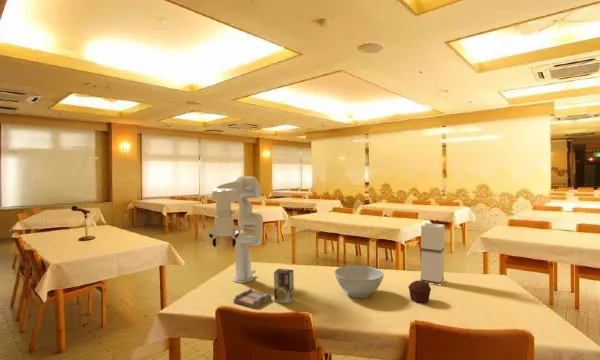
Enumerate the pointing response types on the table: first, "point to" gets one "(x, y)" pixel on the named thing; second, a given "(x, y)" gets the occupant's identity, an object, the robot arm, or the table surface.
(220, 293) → the table surface
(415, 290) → the muffin
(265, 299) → the stand
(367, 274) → the decorative bowl
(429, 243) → the mini fridge
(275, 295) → the coffee box
